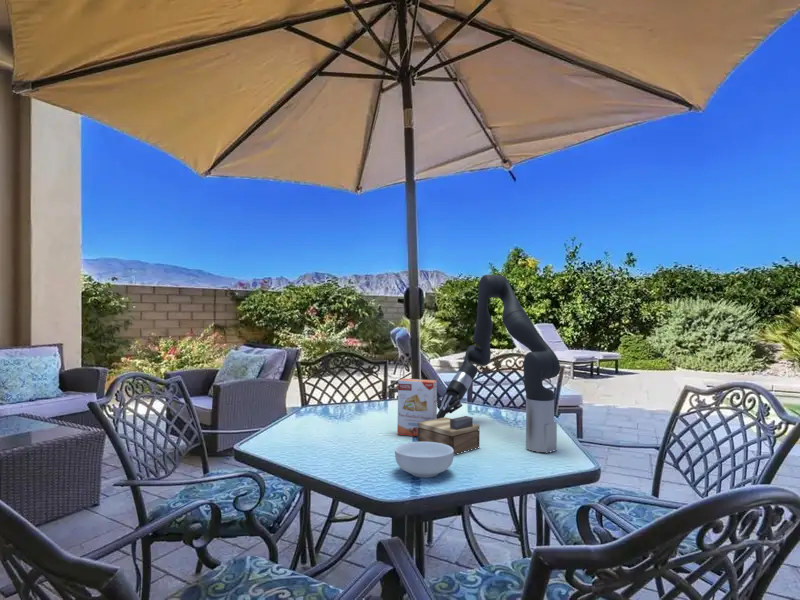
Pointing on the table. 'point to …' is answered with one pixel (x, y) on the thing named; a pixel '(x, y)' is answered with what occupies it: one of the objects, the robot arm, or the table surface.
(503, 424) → the table surface
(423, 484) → the table surface
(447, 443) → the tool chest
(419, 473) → the cereal bowl
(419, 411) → the cracker box
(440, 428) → the beige cabinet door
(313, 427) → the table surface
